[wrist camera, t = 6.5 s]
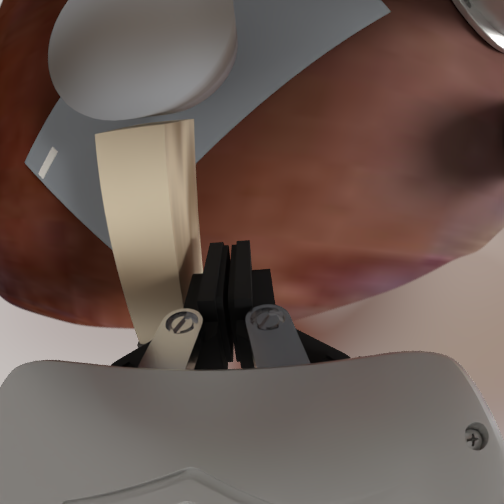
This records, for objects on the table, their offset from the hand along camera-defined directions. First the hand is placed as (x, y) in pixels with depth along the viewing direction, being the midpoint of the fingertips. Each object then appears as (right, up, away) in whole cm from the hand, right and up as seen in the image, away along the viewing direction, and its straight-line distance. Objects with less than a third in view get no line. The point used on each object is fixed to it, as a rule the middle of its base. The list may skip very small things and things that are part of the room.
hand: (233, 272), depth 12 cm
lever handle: (-3, +5, +1) cm, 6 cm away
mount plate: (-3, +12, +1) cm, 12 cm away
